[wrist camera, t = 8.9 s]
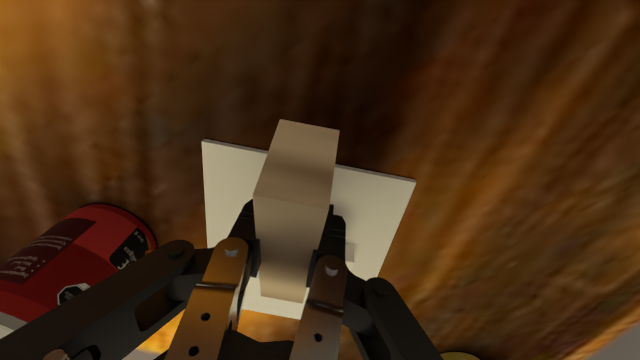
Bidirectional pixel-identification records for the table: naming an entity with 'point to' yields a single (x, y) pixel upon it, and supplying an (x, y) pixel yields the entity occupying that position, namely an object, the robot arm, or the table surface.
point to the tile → (282, 307)
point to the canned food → (69, 261)
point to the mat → (346, 195)
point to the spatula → (293, 206)
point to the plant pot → (458, 356)
